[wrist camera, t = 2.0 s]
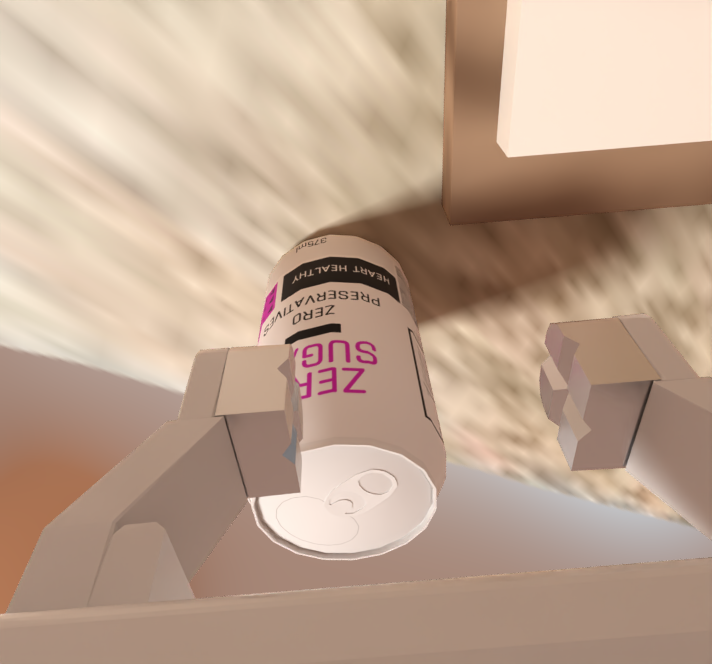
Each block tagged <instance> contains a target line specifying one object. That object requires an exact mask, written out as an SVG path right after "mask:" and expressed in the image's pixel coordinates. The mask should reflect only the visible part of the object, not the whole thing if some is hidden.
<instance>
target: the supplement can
mask: <svg viewBox="0 0 712 664" xmlns="http://www.w3.org/2000/svg"><path fill="white" fill-rule="evenodd" d="M282 344H291V346H292V348H293V352H294V357H295V362H296V369H295V381H296V382H297V383H299V386H300V392H301V400H302V410H303V439H302V440H301V441H300V442H299V445H300V451H301V457H302V471H301V493H292V494H283V495H274V496H264V497H255V498H247V499H248V501H249V503H250V505H251V507H252V511H253V514H254V517H255V520H256V523H257V526H258V527H259V528H260V529H261V530H262V531H263V532H264V533H265V534H266V535H267V536H268V537H269V538H270V539H271V540H272V541H273V542H274V543H276V544H278V545H280V546H282V547H284V548H286V549H288V550H290V551H292V552H294V553H296V554H300V555H305V556H309V557H314V558H318V559H323V560H356V559H361V558H366V557H372V556H376V555H382V554H384V553H387V552H389V551H391V550H394V549H396V548H398V547H400V546H403V545H405V544H407V543H408V542H410V541H411V540H412V539H413V538H415V537H416V536H417V535H418V534H419V533H421V532H422V531H423V530H424V529H425V528H426V527H427V525H428V524H429V522H430V520H431V518H432V516H433V515H434V513H435V511H436V500H437V497H438V495H439V493H440V490H441V488H442V486H443V483H444V481H445V478H446V451H445V447H444V442H443V438H442V433H441V429H440V424H439V420H438V415H437V411H436V406H435V402H434V397H433V393H432V388H431V384H430V379H429V375H428V370H427V366H426V361H425V357H424V352H423V347H422V343H421V338H420V334H419V329H418V325H417V320H416V316H415V311H414V307H413V302H412V298H411V293H410V289H409V284H408V281H407V279H406V277H405V275H404V272H403V270H402V268H401V266H400V264H399V262H398V261H397V260H396V259H395V258H394V257H392V256H391V255H390V254H389V253H388V252H387V251H386V250H385V249H383V248H382V247H381V246H380V245H377V244H375V243H372V242H370V241H367V240H365V239H362V238H360V237H357V236H346V235H326V236H322V237H318V238H315V239H311V240H307V241H304V242H302V243H301V244H299V245H298V246H296V247H295V248H293V249H292V250H290V251H289V252H287V253H286V254H284V255H283V256H282V257H281V259H280V260H279V262H278V263H277V264H276V266H275V267H274V269H273V270H272V272H271V273H270V274H269V279H268V284H267V289H266V294H265V300H264V307H263V313H262V320H261V327H260V334H259V340H258V346H265V345H282Z"/></svg>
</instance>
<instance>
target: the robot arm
mask: <svg viewBox="0 0 712 664" xmlns="http://www.w3.org/2000/svg"><path fill="white" fill-rule="evenodd" d="M545 345H546V347H547V349H548V351H549V353H550V356H549V357H548V358H547V359H546V360H545V361H544V362H543V363H542V364H541V372H540V380H539V381H540V394H541V399H542V403H543V407H544V410H545V412H546V414H547V417H548V419H549V420H551V421H552V422H554V423H555V424H557V425H558V426H559V432H558V437H557V440H558V442H559V444H560V447H561V449H562V451H563V453H564V456H565V458H566V460H567V462H568V465H569V467H570V469H571V471H576V470H595V469H613V468H626V469H625V471H626V472H628V473H629V474H630V475H631V476H633V477H634V478H635V479H636V480H637V481H639V482H640V483H641V484H642V485H644V486H645V487H646V488H647V489H649V490H650V491H651V492H652V493H653V494H655V495H656V496H657V497H658V498H660V499H661V500H662V501H663V502H664V503H666V504H667V505H668V506H669V507H671V508H672V509H673V510H674V511H676V512H677V513H678V514H679V515H680V516H682V517H683V518H684V519H685V520H687V521H688V522H689V523H690V524H692V525H693V526H694V527H695V528H696V529H698V530H699V531H700V532H701V533H703V534H704V535H705V536H706V537H708V538H709V539H710V540H711V541H712V378H711V377H699V376H698V375H697V374H696V372H695V371H694V370H693V369H692V367H691V366H690V365H689V364H688V362H687V361H686V360H685V359H684V357H683V356H682V355H681V354H680V352H679V351H678V350H677V349H676V347H675V346H674V345H673V344H672V342H671V341H670V340H669V339H668V337H667V336H666V335H665V334H664V332H663V331H662V330H661V329H660V327H659V326H658V325H657V324H656V322H655V321H654V320H653V319H652V317H650V316H648V315H646V314H644V313H643V314H634V315H624V316H615V317H612V318H605V319H593V320H582V321H570V322H558V323H550V326H549V328H548V330H547V334H546V339H545ZM295 369H296V362H295V357H294V352H293V348H292V346H291V344H282V345H265V346H248V347H232V348H220V349H207V350H200V351H199V352H198V353H197V354H196V356H195V359H194V362H193V366H192V369H191V373H190V376H189V380H188V383H187V387H186V390H185V394H184V397H183V401H182V405H181V408H180V412H179V415H178V419H177V420H171V421H167V422H166V423H165V424H164V425H162V426H161V427H160V428H159V429H158V430H157V431H156V432H155V433H153V434H152V435H151V436H150V437H149V438H147V440H145V441H144V442H143V443H142V444H141V445H139V446H138V447H137V448H136V449H135V450H134V451H132V452H131V453H130V454H129V455H128V456H127V457H126V458H124V459H123V460H122V461H121V462H120V463H119V464H117V465H116V466H115V467H114V468H113V469H112V470H110V471H109V472H108V473H107V474H106V475H105V476H104V477H102V478H101V479H100V480H99V481H98V482H97V483H95V484H94V485H93V486H92V487H91V488H90V489H89V490H87V491H86V492H85V493H84V494H83V495H82V496H81V497H79V498H78V499H77V500H76V501H75V502H74V503H72V504H71V505H70V506H69V507H68V508H67V509H66V510H64V511H63V512H62V513H61V514H60V515H59V516H57V517H56V518H55V519H54V520H53V521H52V522H50V523H49V524H48V525H47V526H46V527H45V528H44V529H43V531H42V533H41V535H40V538H39V540H38V542H37V545H36V546H35V549H34V551H33V553H32V555H31V558H30V560H29V562H28V564H27V566H26V569H25V571H24V573H23V575H22V578H21V580H20V582H19V584H18V587H17V589H16V591H15V593H14V596H13V598H12V600H11V602H10V604H9V607H8V609H7V611H6V613H5V614H0V664H712V557H708V558H696V559H684V560H671V561H659V562H647V563H634V564H622V565H610V566H597V567H585V568H572V569H560V570H548V571H535V572H523V573H510V574H497V575H484V576H472V577H459V578H448V579H435V580H422V581H410V582H397V583H384V584H371V585H359V586H346V587H334V588H322V589H309V590H296V591H284V592H271V593H259V594H246V595H235V596H221V597H209V598H195V596H194V594H193V592H192V589H191V587H190V585H189V583H190V582H191V580H192V579H193V577H194V576H195V575H196V573H197V572H198V570H199V569H200V567H201V566H202V565H203V563H204V562H205V561H206V559H207V558H208V556H209V555H210V554H211V552H212V551H213V549H214V548H215V547H216V545H217V544H218V542H219V541H220V540H221V538H222V537H223V536H224V534H225V533H226V531H227V530H228V528H229V527H230V526H231V524H232V523H233V521H234V520H235V519H236V517H237V516H238V514H239V513H240V512H241V510H242V509H243V508H244V506H245V505H246V503H247V502H248V500H247V498H255V497H264V496H274V495H283V494H292V493H301V471H302V457H301V451H300V445H299V442H300V441H301V440H302V439H303V410H302V400H301V392H300V386H299V383H297V382H296V381H295Z"/></svg>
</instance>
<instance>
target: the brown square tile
mask: <svg viewBox="0 0 712 664" xmlns="http://www.w3.org/2000/svg"><path fill="white" fill-rule="evenodd" d="M506 13H507V0H446V42H445V87H444V131H443V176H442V206H443V208H444V211H445V213H446V216H447V219H448V221H449V224H450V225H460V224H472V223H484V222H496V221H508V220H520V219H533V218H545V217H557V216H569V215H581V214H593V213H606V212H618V211H630V210H642V209H654V208H666V207H678V206H691V205H703V204H712V141H701V142H689V143H677V144H665V145H653V146H641V147H629V148H616V149H604V150H592V151H580V152H568V153H556V154H544V155H532V156H520V157H507V156H506V154H505V153H504V152H503V150H502V149H501V147H500V146H499V145H498V143H497V129H498V116H499V103H500V90H501V77H502V64H503V52H504V39H505V26H506Z"/></svg>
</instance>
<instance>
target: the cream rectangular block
mask: <svg viewBox="0 0 712 664" xmlns="http://www.w3.org/2000/svg"><path fill="white" fill-rule="evenodd" d="M701 141H712V0H507V13H506V26H505V39H504V52H503V64H502V77H501V90H500V103H499V116H498V129H497V143H498V145H499V146H500V147H501V149H502V150H503V152H504V153H505V154H506V156H507V157H520V156H532V155H544V154H556V153H568V152H580V151H592V150H604V149H616V148H629V147H641V146H653V145H665V144H677V143H689V142H701Z"/></svg>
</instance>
